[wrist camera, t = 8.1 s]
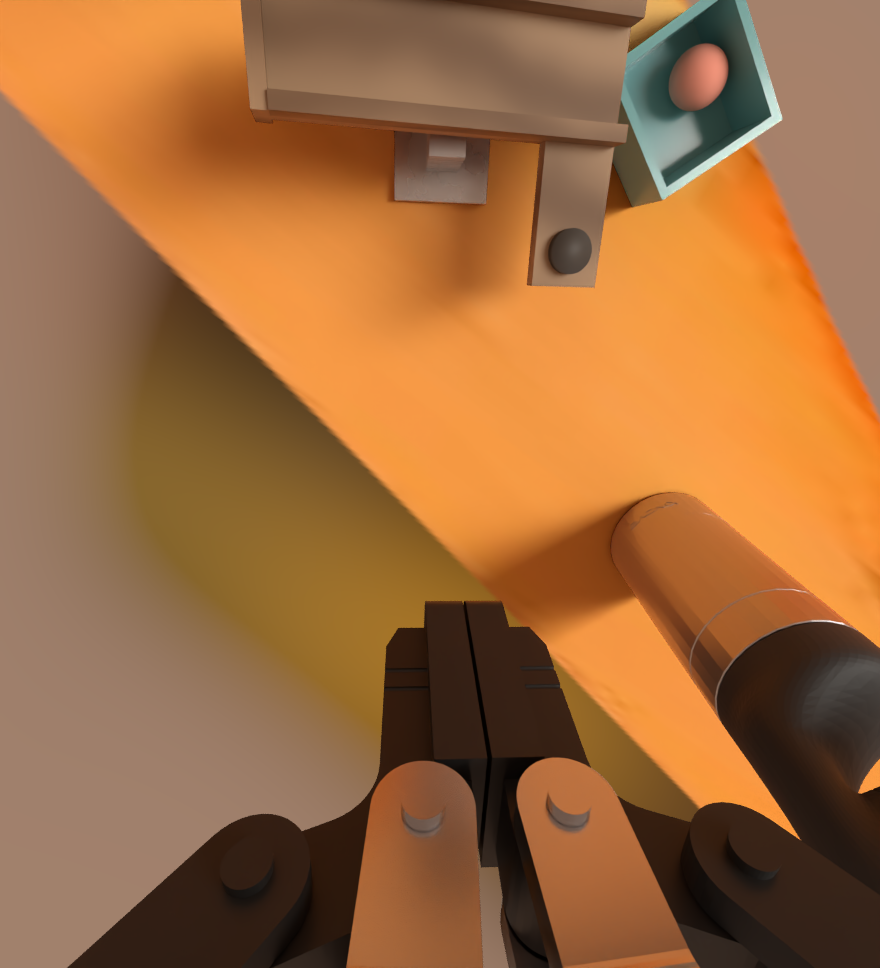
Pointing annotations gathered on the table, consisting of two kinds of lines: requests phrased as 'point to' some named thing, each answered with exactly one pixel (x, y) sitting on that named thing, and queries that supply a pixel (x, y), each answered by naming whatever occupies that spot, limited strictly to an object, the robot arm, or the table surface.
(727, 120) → the teal square bin
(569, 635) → the table surface
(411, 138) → the fulcrum
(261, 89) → the lever
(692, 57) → the ball
